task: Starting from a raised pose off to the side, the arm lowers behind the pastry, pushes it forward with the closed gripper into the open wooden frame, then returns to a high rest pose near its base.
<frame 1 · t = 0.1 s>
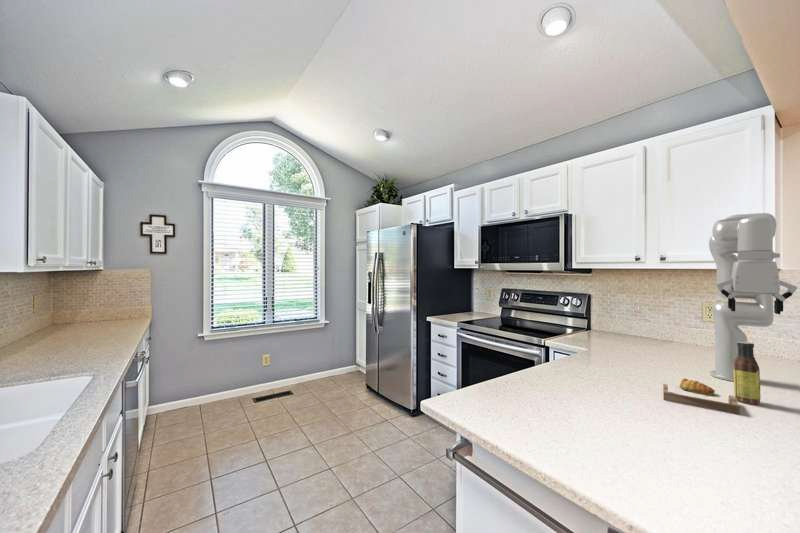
hand: (754, 312, 105), 31 cm above the countertop, tool pointing down, fingers open, 9 cm apart
pastry: (694, 391, 124), on the countertop
open wooden frame: (698, 402, 113), on the countertop
sauce bottle: (746, 402, 114), on the countertop
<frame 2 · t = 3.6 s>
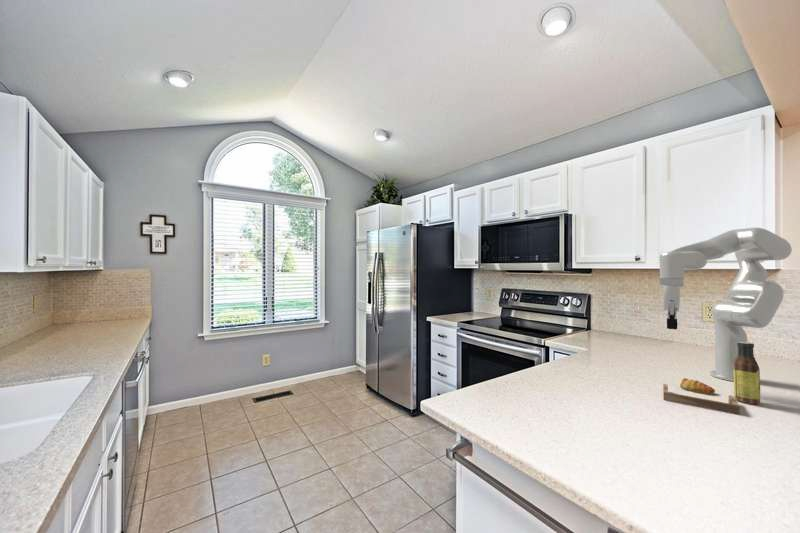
hand: (672, 328, 134), 21 cm above the countertop, tool pointing down, fingers closed
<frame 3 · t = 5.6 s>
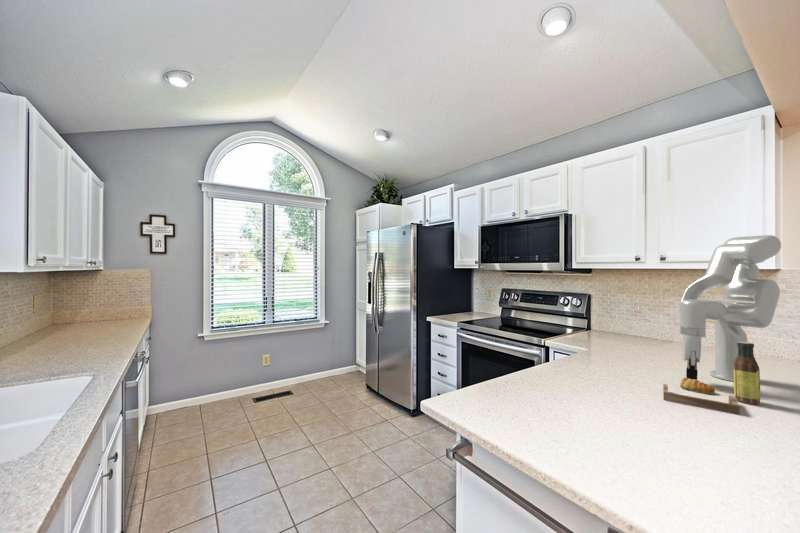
hand: (691, 378, 133), 2 cm above the countertop, tool pointing down, fingers closed
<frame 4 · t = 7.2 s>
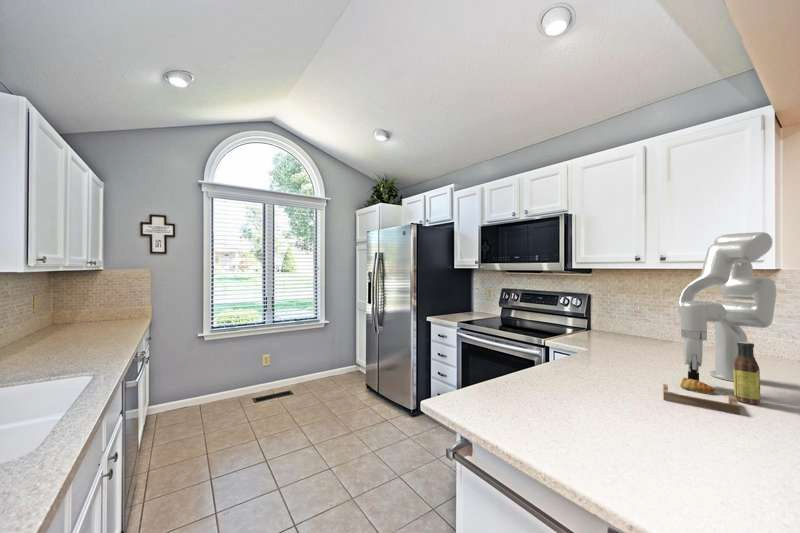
hand: (693, 382, 129), 1 cm above the countertop, tool pointing down, fingers closed
pastry: (695, 390, 125), on the countertop, touching gripper
everything else where it was.
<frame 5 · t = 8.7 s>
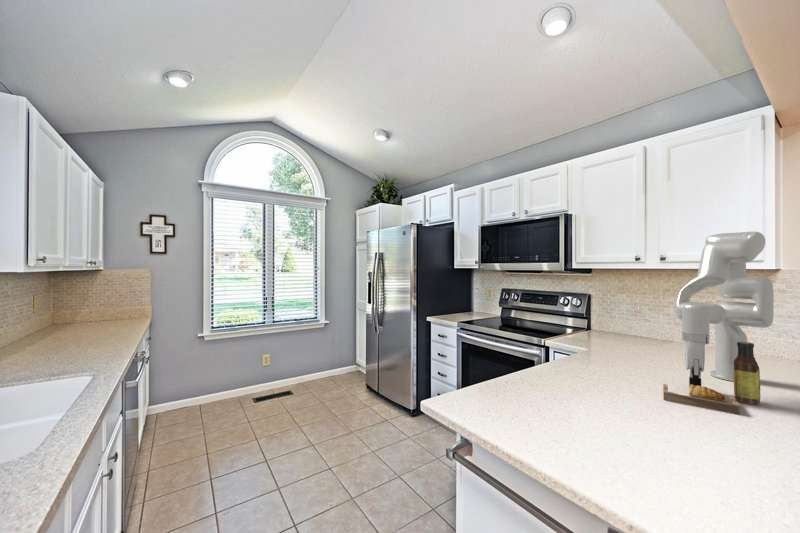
hand: (695, 388, 123), 1 cm above the countertop, tool pointing down, fingers closed
pastry: (703, 398, 118), on the countertop, touching gripper
everything else where it was.
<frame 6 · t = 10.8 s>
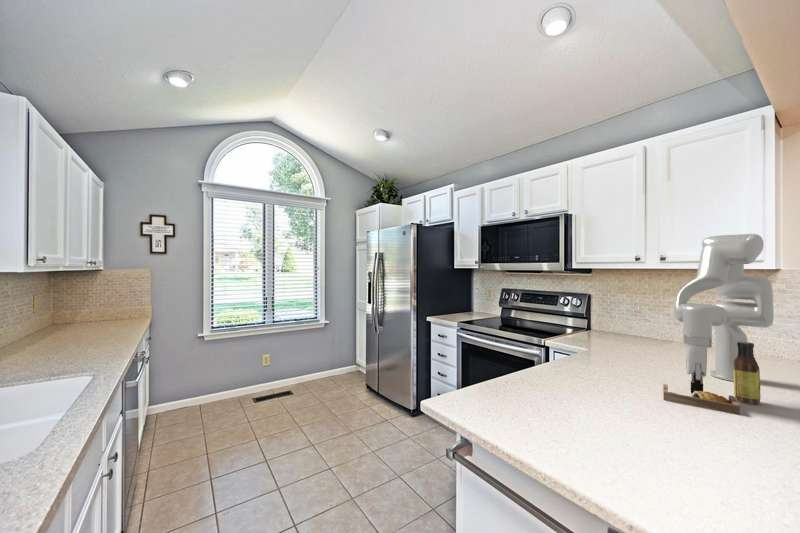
hand: (696, 394, 117), 1 cm above the countertop, tool pointing down, fingers closed
pastry: (708, 404, 112), on the countertop
everything else where it was.
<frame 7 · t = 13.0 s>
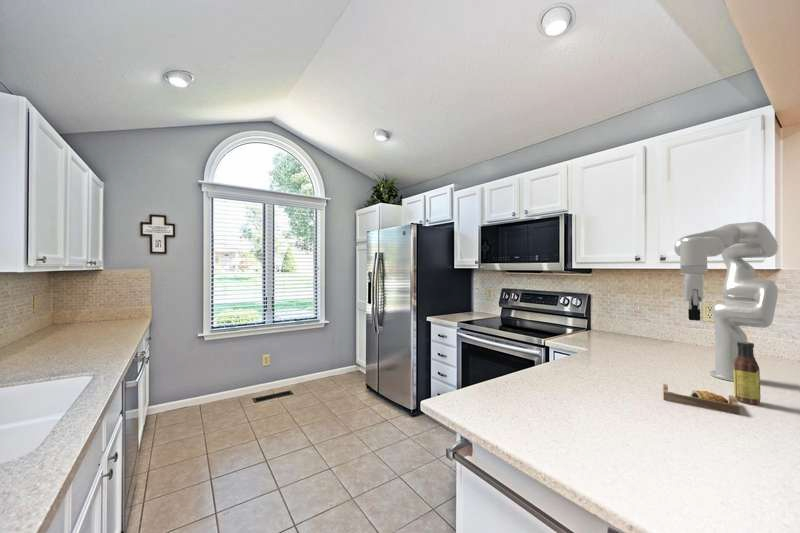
hand: (694, 320, 125), 26 cm above the countertop, tool pointing down, fingers closed
nothing on the countertop moved.
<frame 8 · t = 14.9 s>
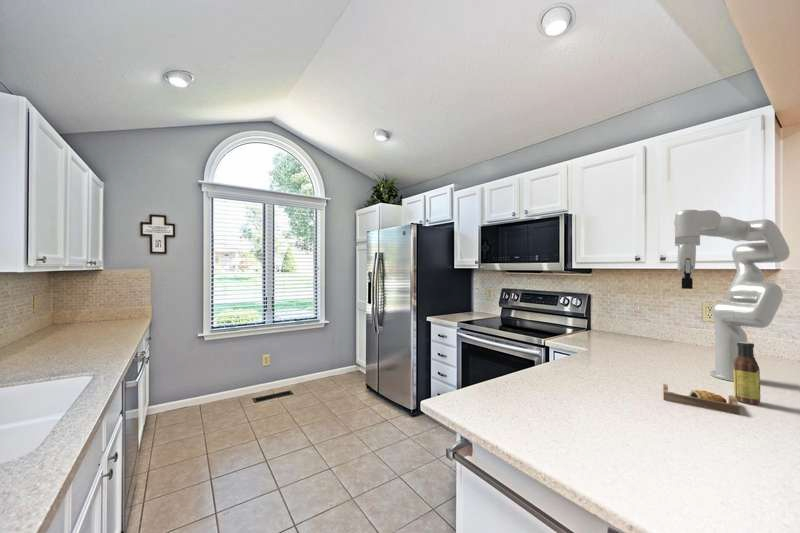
hand: (687, 288, 132), 37 cm above the countertop, tool pointing down, fingers closed
nothing on the countertop moved.
at the end: pastry inside the target area on the open wooden frame (2.3 cm from its centre), point -0.5 cm above the open wooden frame's base; pastry moved 12.0 cm from its start; the gripper is holding nothing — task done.
